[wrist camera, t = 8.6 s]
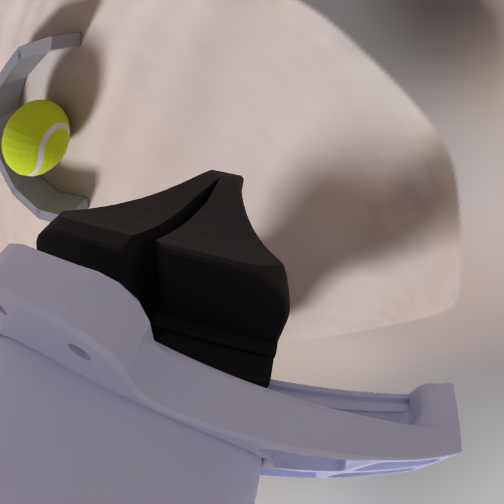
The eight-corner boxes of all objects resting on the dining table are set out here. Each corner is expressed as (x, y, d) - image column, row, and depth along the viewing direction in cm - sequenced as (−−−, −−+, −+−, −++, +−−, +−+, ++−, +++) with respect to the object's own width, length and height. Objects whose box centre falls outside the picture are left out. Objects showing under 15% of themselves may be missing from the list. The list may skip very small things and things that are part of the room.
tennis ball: (80, 165, 22) (33, 202, 17) (37, 145, 21) (-9, 176, 16) (90, 100, 18) (32, 125, 13) (42, 85, 17) (-12, 108, 12)
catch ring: (89, 207, 25) (69, 227, 22) (26, 193, 25) (7, 209, 23) (81, 32, 14) (52, 35, 11) (11, 53, 14) (-14, 61, 11)
